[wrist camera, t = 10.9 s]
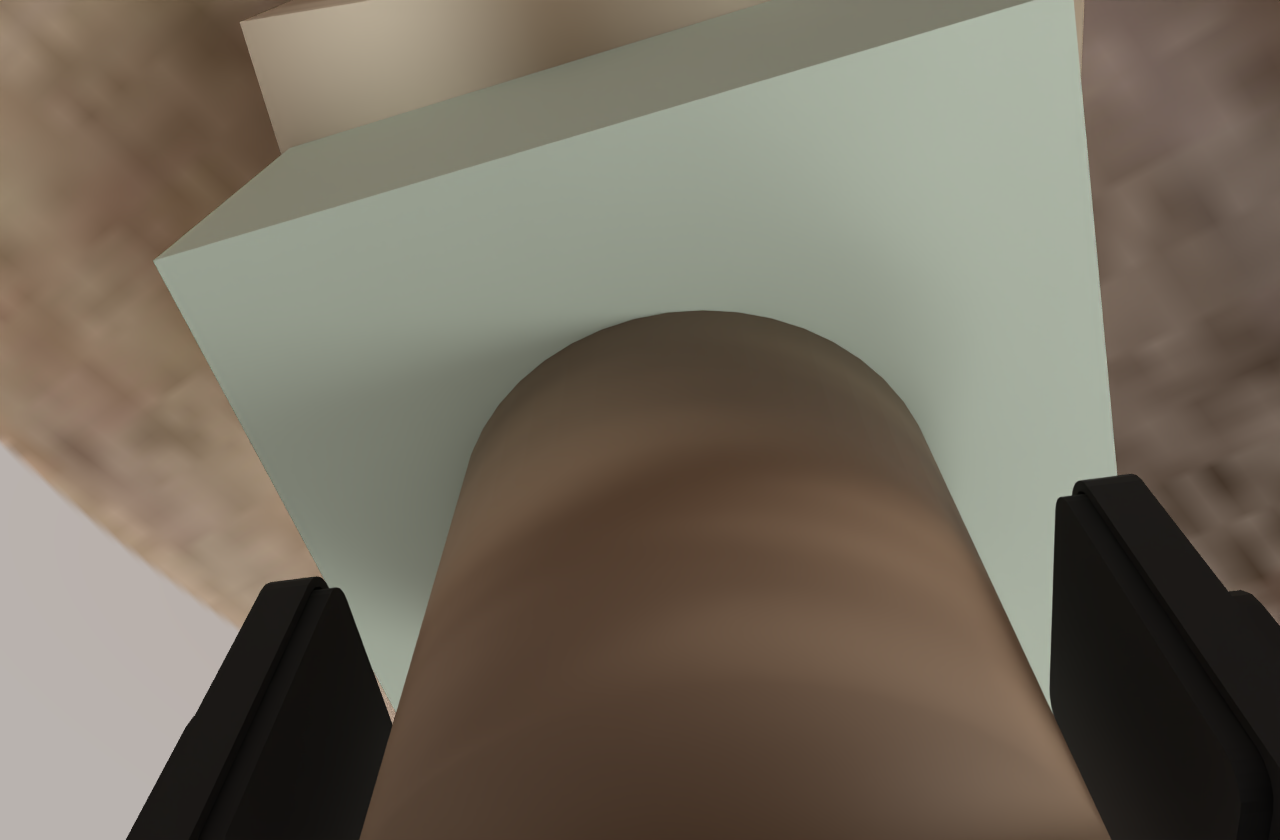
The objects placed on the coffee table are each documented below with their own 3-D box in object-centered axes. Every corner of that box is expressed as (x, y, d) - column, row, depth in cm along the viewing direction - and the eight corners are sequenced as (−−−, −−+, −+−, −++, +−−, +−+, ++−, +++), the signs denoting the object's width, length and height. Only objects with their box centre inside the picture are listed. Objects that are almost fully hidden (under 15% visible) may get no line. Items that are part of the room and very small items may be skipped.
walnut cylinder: (937, 278, 12) (1176, 636, 6) (940, 685, 14) (1106, 1164, 9) (408, 345, 12) (223, 733, 7) (511, 728, 15) (438, 1208, 10)
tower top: (945, -54, 15) (1072, -11, 10) (1027, 523, 19) (1140, 723, 15) (289, 148, 16) (153, 261, 12) (510, 640, 21) (472, 854, 16)
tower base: (986, -126, 19) (1090, -119, 14) (984, 454, 24) (1058, 588, 20) (332, -17, 20) (239, 21, 15) (476, 517, 25) (439, 657, 21)
